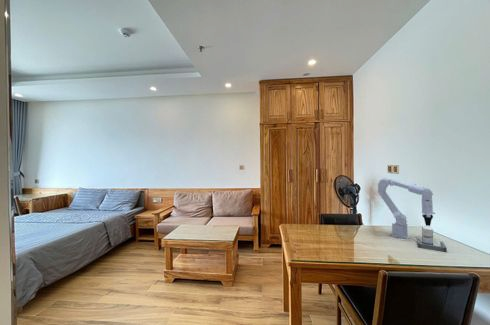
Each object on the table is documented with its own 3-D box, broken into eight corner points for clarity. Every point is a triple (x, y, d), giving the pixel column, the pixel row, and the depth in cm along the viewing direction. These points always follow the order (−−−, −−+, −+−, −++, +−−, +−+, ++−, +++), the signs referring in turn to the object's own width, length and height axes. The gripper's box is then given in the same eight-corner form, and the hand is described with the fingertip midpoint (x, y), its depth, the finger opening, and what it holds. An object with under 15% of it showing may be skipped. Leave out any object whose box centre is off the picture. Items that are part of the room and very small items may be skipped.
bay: (418, 247, 137) (418, 243, 137) (416, 241, 147) (416, 237, 147) (446, 252, 129) (446, 248, 129) (443, 245, 139) (442, 241, 139)
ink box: (433, 248, 135) (433, 229, 135) (423, 246, 138) (423, 228, 138) (431, 243, 142) (430, 226, 142) (421, 242, 145) (421, 225, 145)
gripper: (436, 208, 140) (437, 229, 140) (433, 204, 152) (434, 223, 152) (422, 207, 144) (423, 227, 144) (420, 203, 156) (421, 222, 156)
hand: (427, 225), depth 148 cm, fingers closed
